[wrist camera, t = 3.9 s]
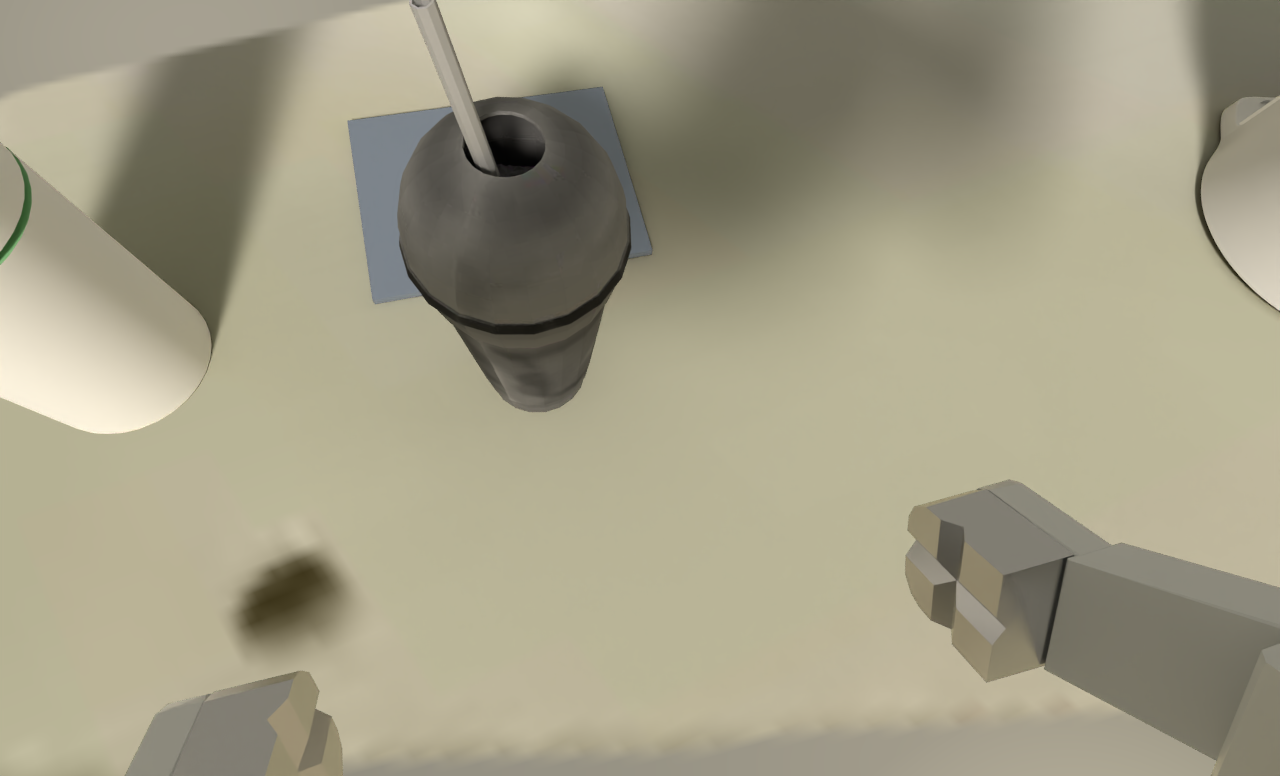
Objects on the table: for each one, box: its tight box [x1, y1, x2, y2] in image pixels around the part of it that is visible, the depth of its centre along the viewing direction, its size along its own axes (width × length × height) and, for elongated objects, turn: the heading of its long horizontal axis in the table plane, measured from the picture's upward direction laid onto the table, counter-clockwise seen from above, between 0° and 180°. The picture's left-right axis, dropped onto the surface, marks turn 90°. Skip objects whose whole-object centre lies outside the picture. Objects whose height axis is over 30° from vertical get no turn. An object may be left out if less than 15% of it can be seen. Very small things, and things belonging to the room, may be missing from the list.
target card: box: [348, 87, 652, 304], centre depth 35 cm, size 14×11×1 cm
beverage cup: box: [397, 0, 631, 412], centre depth 22 cm, size 7×7×20 cm
